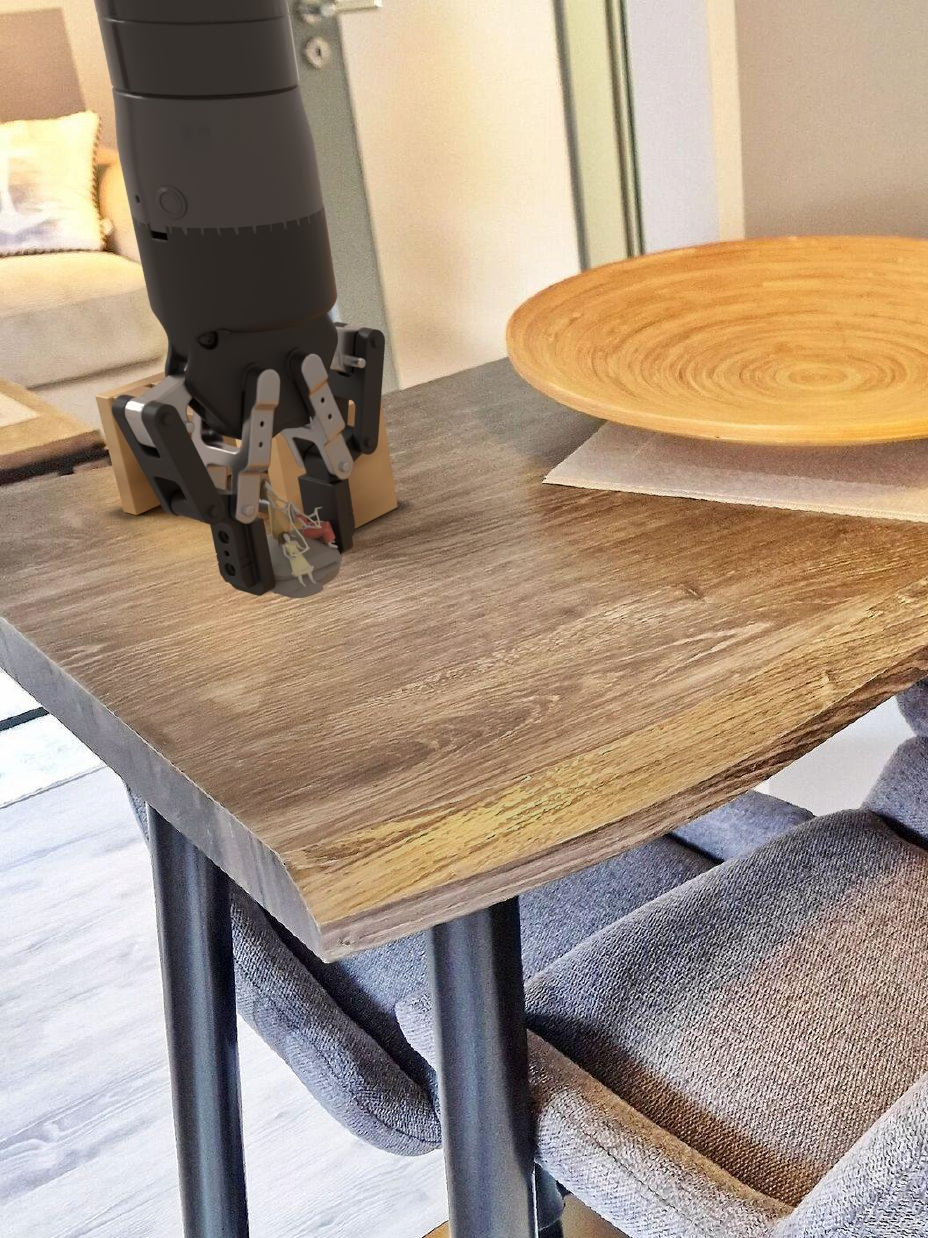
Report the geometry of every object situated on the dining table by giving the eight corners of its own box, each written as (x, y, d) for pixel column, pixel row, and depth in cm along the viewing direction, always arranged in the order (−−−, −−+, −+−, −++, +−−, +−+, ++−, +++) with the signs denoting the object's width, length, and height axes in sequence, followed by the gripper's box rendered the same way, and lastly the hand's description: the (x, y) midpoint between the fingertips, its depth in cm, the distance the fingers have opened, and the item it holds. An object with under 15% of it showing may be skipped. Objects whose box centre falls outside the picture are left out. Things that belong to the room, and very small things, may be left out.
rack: (298, 557, 93) (275, 435, 89) (123, 512, 98) (94, 395, 94) (397, 507, 100) (380, 392, 96) (229, 467, 105) (206, 356, 101)
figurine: (234, 583, 72) (211, 466, 69) (326, 562, 74) (308, 449, 72) (267, 625, 68) (245, 505, 66) (363, 602, 71) (345, 485, 68)
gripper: (286, 162, 69) (340, 503, 78) (12, 220, 58) (109, 612, 66) (415, 182, 67) (455, 532, 75) (154, 247, 55) (236, 651, 64)
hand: (293, 567), depth 71 cm, fingers closed on figurine, 4 cm apart
